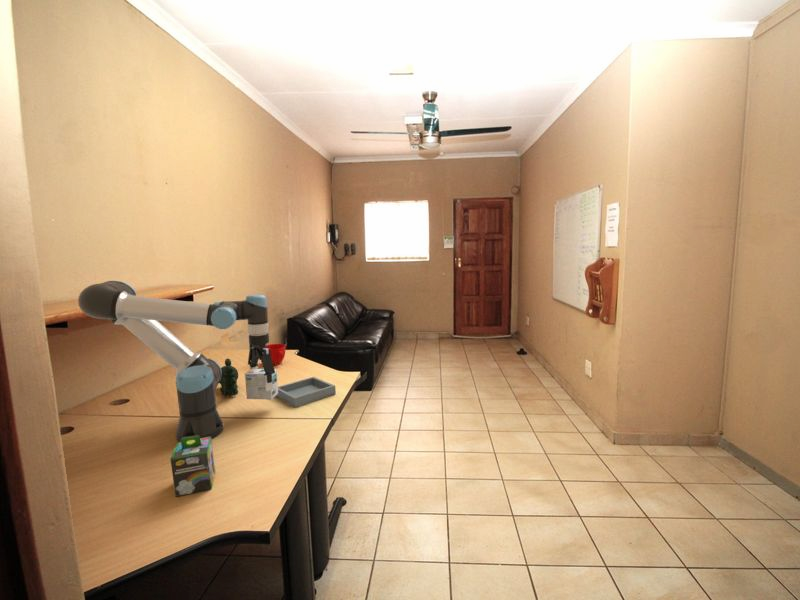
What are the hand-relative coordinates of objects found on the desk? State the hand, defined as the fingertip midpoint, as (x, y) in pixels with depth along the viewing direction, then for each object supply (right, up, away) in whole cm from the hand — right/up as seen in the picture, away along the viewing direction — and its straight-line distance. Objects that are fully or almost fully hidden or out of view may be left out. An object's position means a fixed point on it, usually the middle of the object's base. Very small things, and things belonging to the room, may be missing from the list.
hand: (262, 386), depth 157 cm
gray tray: (+13, -8, +17) cm, 23 cm away
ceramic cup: (-15, -2, +64) cm, 66 cm away
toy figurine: (-23, -8, +23) cm, 34 cm away
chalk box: (-2, -17, -47) cm, 51 cm away
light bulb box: (0, -5, +1) cm, 5 cm away
